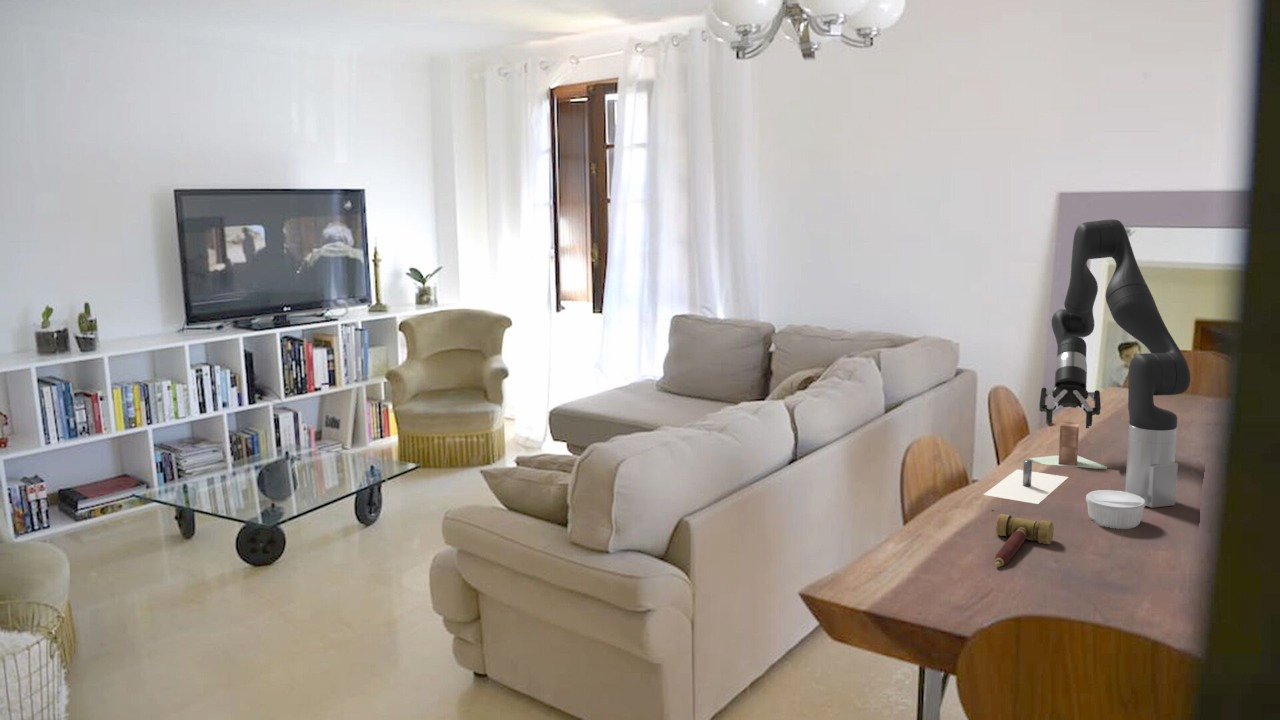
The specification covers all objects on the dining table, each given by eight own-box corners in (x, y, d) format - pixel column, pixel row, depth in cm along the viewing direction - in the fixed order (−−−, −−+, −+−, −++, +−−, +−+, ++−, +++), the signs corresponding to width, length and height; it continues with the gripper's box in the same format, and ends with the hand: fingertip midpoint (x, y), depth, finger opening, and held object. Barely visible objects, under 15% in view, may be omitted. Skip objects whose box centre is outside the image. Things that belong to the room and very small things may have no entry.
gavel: (1025, 559, 171) (969, 548, 176) (1025, 582, 172) (969, 571, 178) (1054, 518, 187) (1002, 510, 193) (1053, 540, 188) (1002, 531, 194)
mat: (1107, 468, 233) (1107, 467, 233) (1061, 473, 230) (1061, 472, 230) (1072, 455, 245) (1072, 453, 245) (1028, 459, 243) (1028, 458, 243)
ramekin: (1111, 534, 190) (1113, 509, 189) (1072, 516, 200) (1073, 493, 200) (1156, 527, 193) (1158, 502, 192) (1116, 510, 203) (1117, 487, 202)
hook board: (1037, 508, 206) (1039, 477, 205) (982, 498, 213) (983, 469, 212) (1068, 481, 224) (1069, 452, 223) (1016, 473, 232) (1017, 445, 230)
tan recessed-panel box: (1076, 461, 239) (1078, 422, 237) (1076, 465, 235) (1078, 426, 233) (1058, 459, 241) (1060, 421, 239) (1058, 464, 237) (1060, 425, 235)
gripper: (1041, 363, 246) (1038, 415, 238) (1101, 366, 240) (1100, 419, 232) (1041, 379, 252) (1038, 431, 243) (1100, 382, 246) (1099, 435, 237)
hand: (1068, 425), depth 237 cm, fingers open, 8 cm apart
